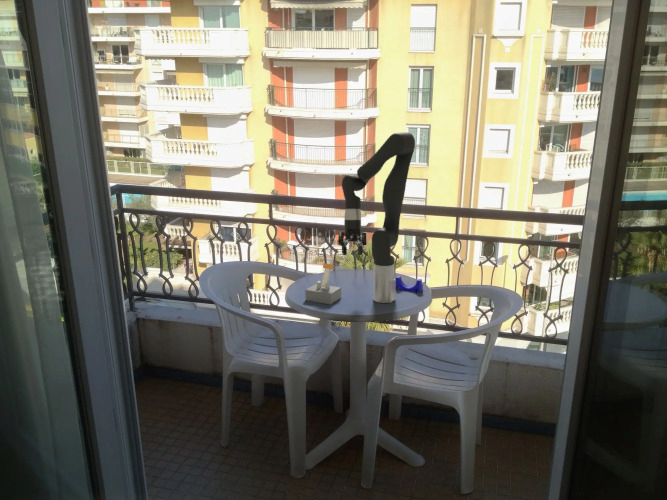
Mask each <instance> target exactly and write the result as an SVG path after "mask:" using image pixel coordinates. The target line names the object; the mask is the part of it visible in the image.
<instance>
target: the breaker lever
mask: <svg viewBox="0 0 667 500" xmlns="http://www.w3.org/2000/svg"><path fill="white" fill-rule="evenodd" d="M322 268H323V269H324V272H323V276H322V281H321V286H322V287H325V283H327V282H329V278H330V275H331V271H334V269H335V265H334V264H332V263H323V264H322Z"/></svg>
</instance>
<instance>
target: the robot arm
mask: <svg viewBox="0 0 667 500" xmlns="http://www.w3.org/2000/svg"><path fill="white" fill-rule="evenodd" d="M415 147H416V140H415V137H414V135H413V134H412V133H411V132H408V131H407V132H406V131H405V132H403V131H402V132H394V133H392V134H391V135H390V136H389V137H388V138H386V140H385V142H384V143H383V144H382V145H381V146H380V147H379V149H378V150H377V151H376V152H375V153H374V154H373V155H372V156H371V157H370V158H369V159H368V160H367V161H365V162H364V163H362V165H361V166H359V167H358V169H357V170H356V174H357V175H355V174H345V175H344V177H343V178H342V181H341V189H342V192H343V196H344V222H343V223H344V227H343V228H344V231H339V232H338V239H337V245H338V246H341V254H342V256H347V255H348V254H347V251H348V247H347V246H348V245H349V243H350V242H355V244H357V246H358V247H357V256H362V255H363V252H364V249H363V247H364V246H365V247H366V246H367V242H368V241H367V232H366V231H365V232H364V231H363V232H362V231H361V229H362V211H361V207H362V206H361V205H362V203H361V199H362V198H360V196H358V195H356V193H355V192H360V191H362V190H363V189H364V188H365V187H366V186H367V184H368V183H369V181H370V180H371V179H372V178H373V177H375V176H376V175H377V174H379V172H380V171H381V170H382V168H383V166H384V165H385V164H386V163H387V161H388V160H390V159H392V158H393V157H395V160H394V164H393V167H392V169H391V170H390V172H389V174H388V175H387V178H386V179H385V181H384V184H383V190H382V196H381V197H382V205H383V209H384V220H383V221H384V222H383V225H382V228H381V227H380V228H378V229H376V230H375V231H374V232H373V234H372V235H371V256H372V259H373V288H372V289H373V293H372V294H373V295H372V296H373V297H372V298H373V301H374V302H376V303H378V304H379V303H381V304H386V303H387V304H392V302H394V301H395V300H396V290H397V289H396V278H395V259H396V258H395V257H394V256H393V255H391V248H393V247H394V246H396V244H397V242H398V241H399V233H400V222H401V221H400V219H401V215H402V214H401V213H402V208H403V202H404V198H405V193H406V192H405V191H406V186H407V181H408V180H407V179H408V176H409V171H410V166H411V162H412V159H413V155H414V153H415Z"/></svg>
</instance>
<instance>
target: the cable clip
mask: <svg viewBox="0 0 667 500" xmlns="http://www.w3.org/2000/svg"><path fill="white" fill-rule="evenodd" d="M395 280H396V290H398V289H399V290H398V291H406V292H411V293H418V294H419V293H421V292H422V291H423V290H424V289H423V288H424V285H423V279H422V278H418V279H417V280H416V283H415V284H414V285H410V286H409V285H406V283H404V281H403V279H402V275H397V276H396V277H395Z"/></svg>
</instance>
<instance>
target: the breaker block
mask: <svg viewBox="0 0 667 500" xmlns="http://www.w3.org/2000/svg"><path fill="white" fill-rule="evenodd" d="M321 284H322V281H321V280H318V281H316V283H315V284H312V285H311V286H310V287H308V288H306V289H305V294H304V295H305V301H307V302H315V303H320V304H326V305H332V304H333V305H334V303H336V302H337V301H338V300H339V301H340V300H341V298H342V287H339V286H333V285H331V284H330V282H329V281H328V282H327V283H325V287H322V286H321Z"/></svg>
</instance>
